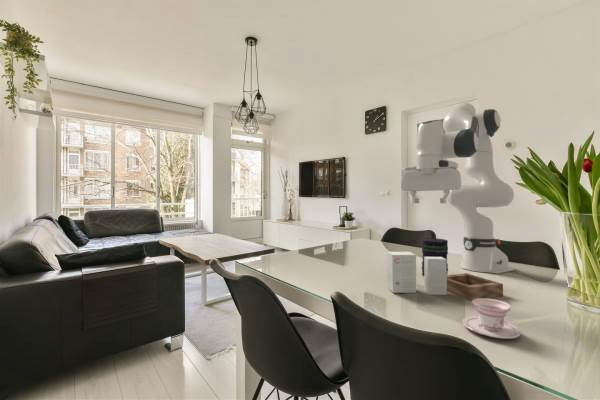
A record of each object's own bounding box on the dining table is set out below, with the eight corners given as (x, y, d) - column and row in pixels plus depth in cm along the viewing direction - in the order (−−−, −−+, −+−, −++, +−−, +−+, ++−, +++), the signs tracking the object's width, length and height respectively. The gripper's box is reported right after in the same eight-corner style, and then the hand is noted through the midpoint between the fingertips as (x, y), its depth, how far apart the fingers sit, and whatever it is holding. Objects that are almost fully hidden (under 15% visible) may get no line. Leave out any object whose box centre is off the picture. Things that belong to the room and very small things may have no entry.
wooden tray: (466, 284, 108) (466, 273, 108) (502, 296, 95) (502, 283, 95) (436, 287, 104) (436, 276, 104) (469, 300, 91) (469, 287, 91)
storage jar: (449, 280, 113) (449, 242, 113) (422, 277, 117) (422, 240, 116) (445, 273, 123) (445, 238, 123) (420, 272, 126) (420, 237, 126)
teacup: (499, 344, 64) (499, 316, 64) (451, 322, 75) (451, 298, 75) (532, 334, 68) (532, 308, 68) (482, 315, 79) (482, 292, 79)
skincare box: (441, 291, 100) (442, 256, 100) (447, 295, 95) (447, 259, 95) (423, 290, 100) (423, 256, 100) (427, 294, 96) (428, 258, 96)
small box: (409, 287, 104) (409, 251, 104) (416, 293, 98) (416, 254, 98) (387, 287, 104) (387, 251, 104) (392, 293, 98) (392, 254, 98)
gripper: (398, 166, 109) (397, 202, 109) (457, 161, 95) (456, 203, 95) (405, 168, 114) (405, 203, 114) (463, 163, 99) (462, 203, 99)
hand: (429, 203), depth 104 cm, fingers open, 8 cm apart
